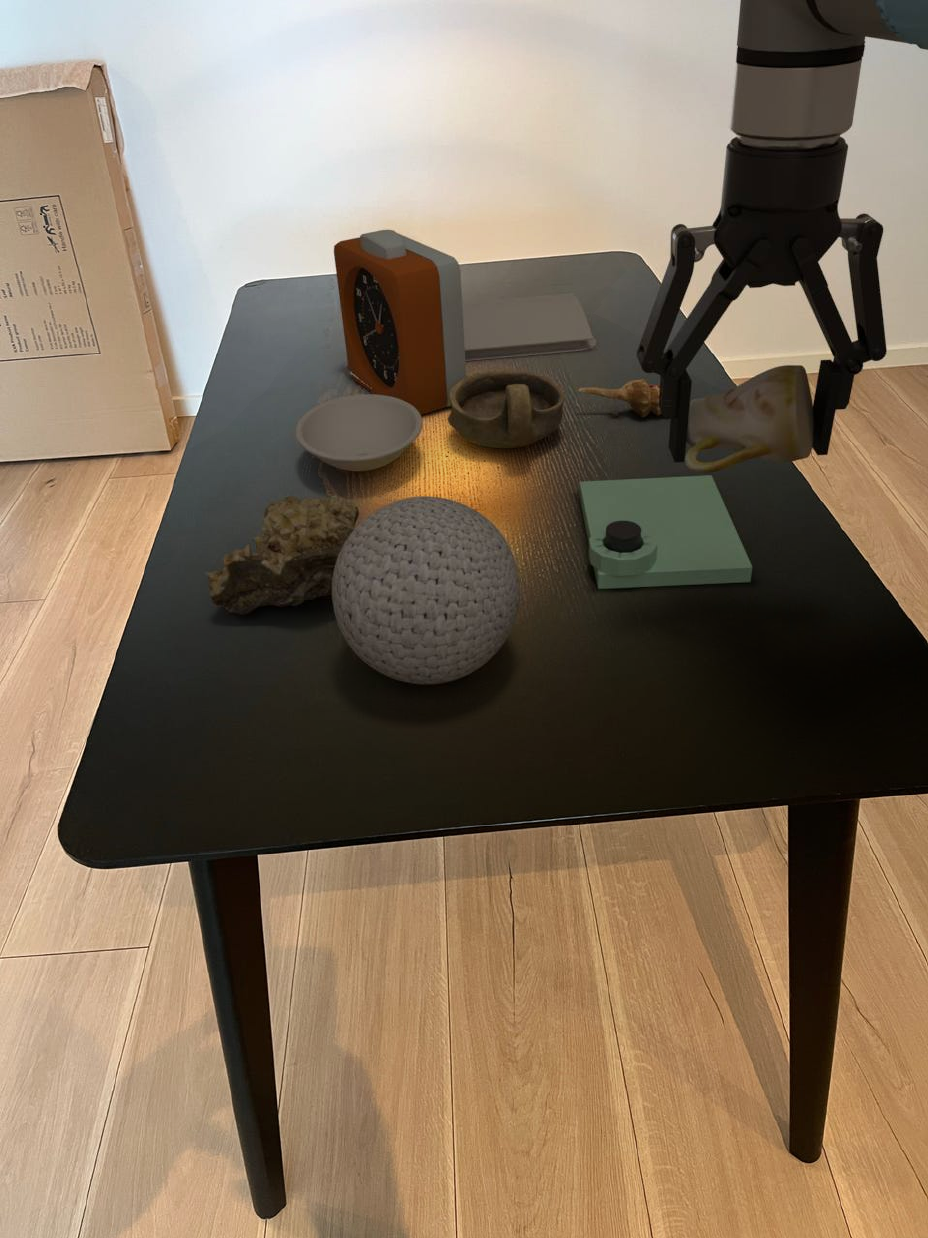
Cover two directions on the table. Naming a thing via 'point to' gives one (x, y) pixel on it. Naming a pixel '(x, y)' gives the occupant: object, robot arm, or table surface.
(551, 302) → the book
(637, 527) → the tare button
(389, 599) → the decorative ball
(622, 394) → the spiral seashell
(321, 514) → the mineral specimen
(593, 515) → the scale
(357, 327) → the alarm clock
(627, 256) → the table surface
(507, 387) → the bowl
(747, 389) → the mug
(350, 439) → the dish
